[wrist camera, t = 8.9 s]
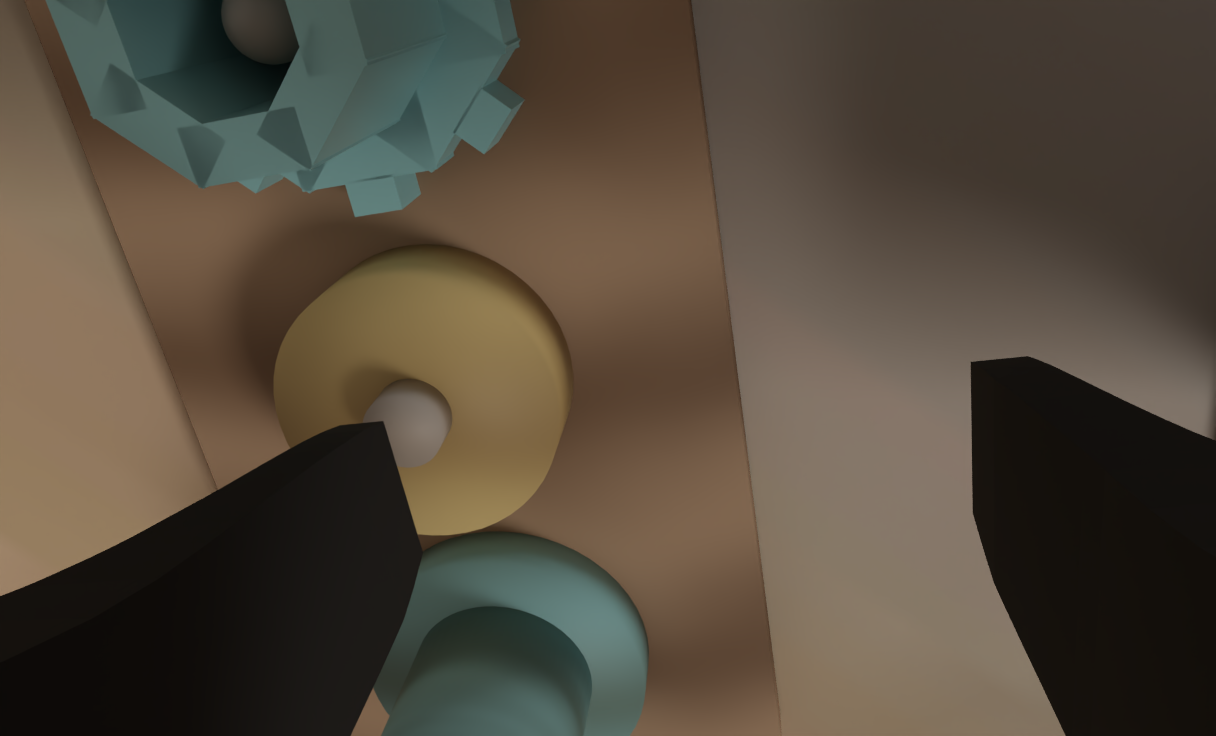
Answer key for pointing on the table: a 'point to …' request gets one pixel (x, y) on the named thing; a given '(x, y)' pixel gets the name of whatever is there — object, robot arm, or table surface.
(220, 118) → the gear
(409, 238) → the gear carrier
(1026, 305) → the table surface
